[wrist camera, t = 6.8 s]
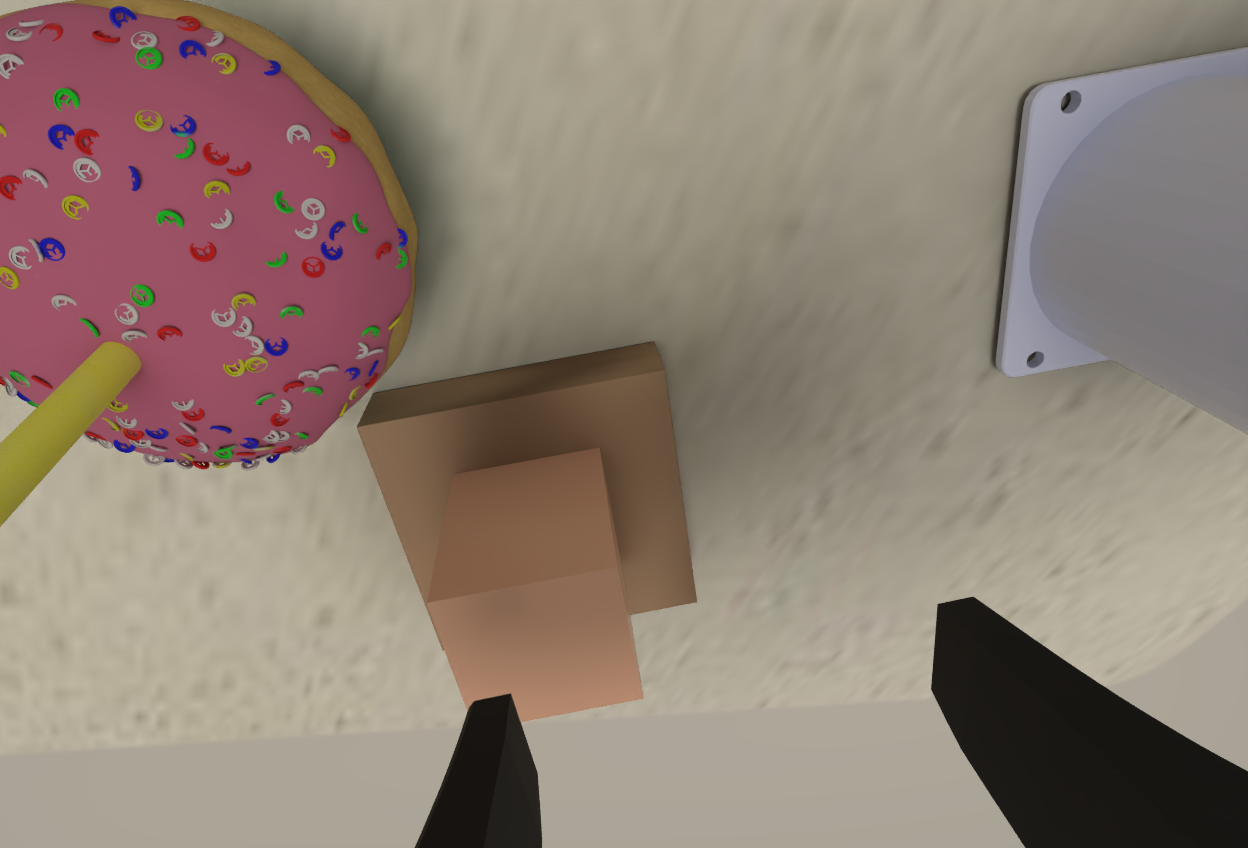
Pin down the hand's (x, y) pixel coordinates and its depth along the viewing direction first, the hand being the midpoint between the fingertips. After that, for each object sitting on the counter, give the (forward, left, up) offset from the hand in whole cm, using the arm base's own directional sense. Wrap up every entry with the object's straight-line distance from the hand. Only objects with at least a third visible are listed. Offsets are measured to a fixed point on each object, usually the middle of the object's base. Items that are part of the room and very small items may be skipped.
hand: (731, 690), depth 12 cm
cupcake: (+9, -7, -11) cm, 16 cm away
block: (+4, +2, -8) cm, 9 cm away
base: (+4, +2, -10) cm, 11 cm away
